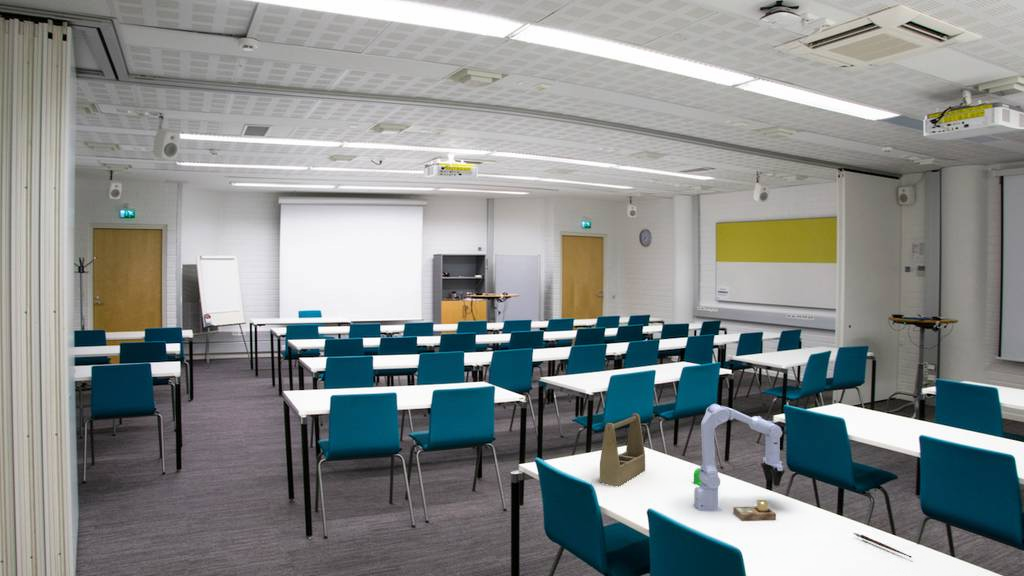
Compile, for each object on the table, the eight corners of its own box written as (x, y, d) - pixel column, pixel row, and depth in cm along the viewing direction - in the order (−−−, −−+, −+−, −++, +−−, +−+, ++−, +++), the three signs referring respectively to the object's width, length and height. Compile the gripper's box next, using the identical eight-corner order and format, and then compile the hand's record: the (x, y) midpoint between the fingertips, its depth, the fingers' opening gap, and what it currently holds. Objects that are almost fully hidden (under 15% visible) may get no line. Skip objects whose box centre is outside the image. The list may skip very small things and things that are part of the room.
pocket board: (742, 520, 268) (742, 514, 268) (733, 512, 277) (733, 506, 277) (775, 519, 269) (775, 513, 269) (765, 512, 278) (765, 505, 278)
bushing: (759, 518, 271) (759, 503, 271) (755, 514, 275) (755, 500, 275) (769, 517, 272) (769, 503, 272) (764, 514, 276) (764, 499, 276)
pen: (851, 534, 253) (910, 558, 233) (852, 531, 253) (911, 554, 233) (853, 534, 254) (912, 558, 233) (854, 531, 254) (913, 554, 233)
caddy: (626, 470, 340) (626, 411, 340) (645, 473, 334) (645, 414, 333) (599, 484, 316) (599, 421, 316) (619, 488, 310) (619, 424, 310)
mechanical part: (702, 489, 309) (702, 472, 309) (693, 485, 315) (693, 469, 315) (721, 485, 315) (721, 468, 315) (712, 482, 320) (712, 465, 320)
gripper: (789, 455, 279) (789, 487, 279) (773, 447, 293) (773, 477, 294) (773, 456, 278) (773, 488, 279) (758, 447, 293) (758, 478, 293)
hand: (772, 482), depth 286 cm, fingers open, 7 cm apart
